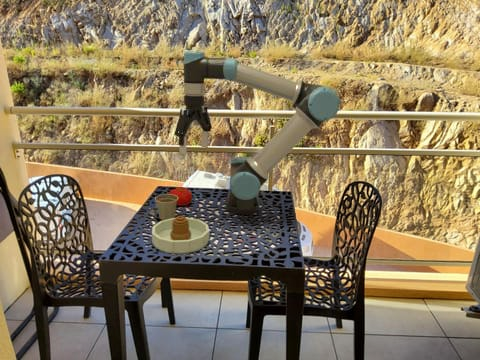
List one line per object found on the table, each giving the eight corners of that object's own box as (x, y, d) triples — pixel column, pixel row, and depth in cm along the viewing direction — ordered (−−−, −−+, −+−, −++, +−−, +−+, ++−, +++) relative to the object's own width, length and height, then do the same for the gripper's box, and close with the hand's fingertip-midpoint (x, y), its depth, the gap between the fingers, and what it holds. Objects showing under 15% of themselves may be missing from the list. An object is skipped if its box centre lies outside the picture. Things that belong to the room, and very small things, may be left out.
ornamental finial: (189, 242, 136) (168, 242, 136) (192, 233, 143) (172, 232, 143) (189, 221, 133) (168, 221, 133) (192, 213, 141) (171, 212, 140)
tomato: (175, 209, 168) (175, 195, 166) (165, 201, 176) (165, 187, 174) (195, 205, 173) (195, 191, 171) (185, 197, 181) (185, 184, 179)
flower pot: (173, 223, 153) (173, 203, 151) (151, 220, 155) (150, 200, 152) (181, 214, 162) (181, 195, 159) (160, 212, 164) (160, 193, 161)
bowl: (205, 227, 151) (206, 216, 149) (211, 251, 132) (211, 240, 131) (153, 229, 147) (153, 218, 146) (151, 255, 129) (150, 242, 127)
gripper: (205, 92, 155) (205, 143, 162) (163, 96, 135) (165, 155, 141) (221, 93, 152) (220, 146, 158) (180, 97, 131) (181, 158, 138)
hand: (194, 150), depth 150 cm, fingers open, 13 cm apart
